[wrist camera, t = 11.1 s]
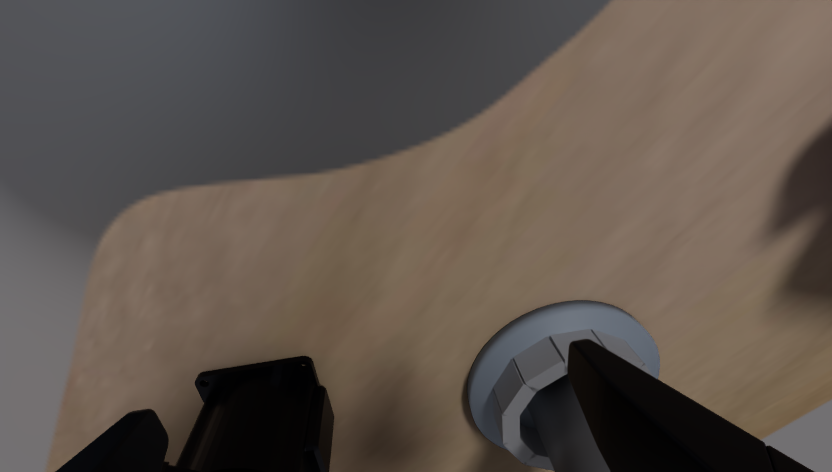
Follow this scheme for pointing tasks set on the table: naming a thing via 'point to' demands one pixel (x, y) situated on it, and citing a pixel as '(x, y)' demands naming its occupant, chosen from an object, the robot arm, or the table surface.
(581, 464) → the grey domed cylinder
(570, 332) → the ring
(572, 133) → the table surface
